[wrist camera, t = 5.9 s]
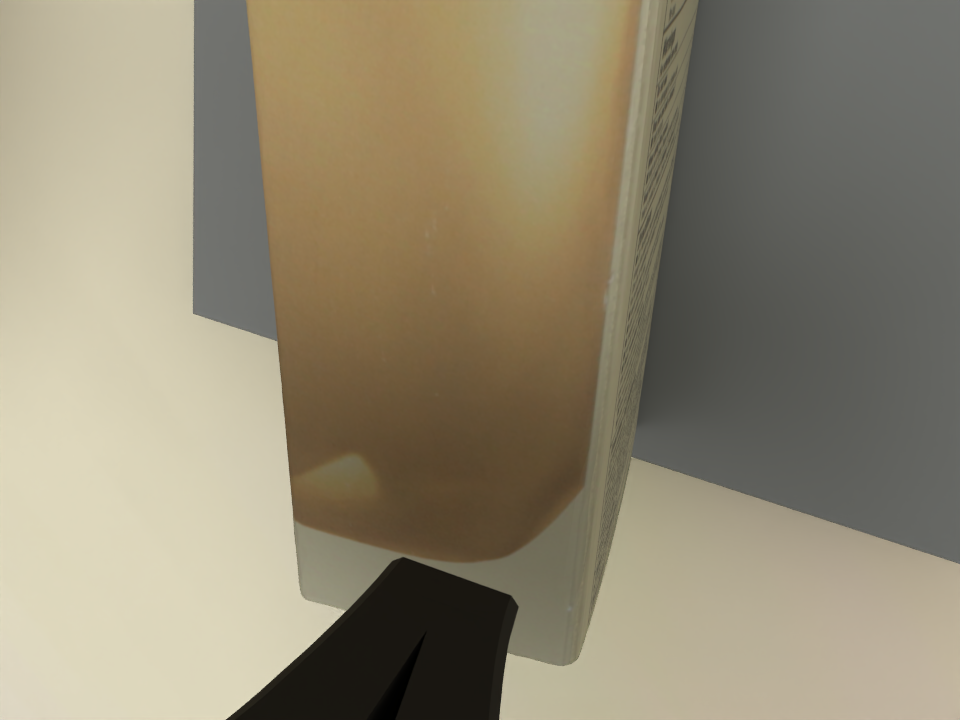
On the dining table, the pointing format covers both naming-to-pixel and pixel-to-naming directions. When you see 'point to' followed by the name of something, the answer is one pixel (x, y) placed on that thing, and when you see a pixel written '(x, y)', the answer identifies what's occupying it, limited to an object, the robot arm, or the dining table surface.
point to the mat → (741, 255)
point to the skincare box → (466, 282)
